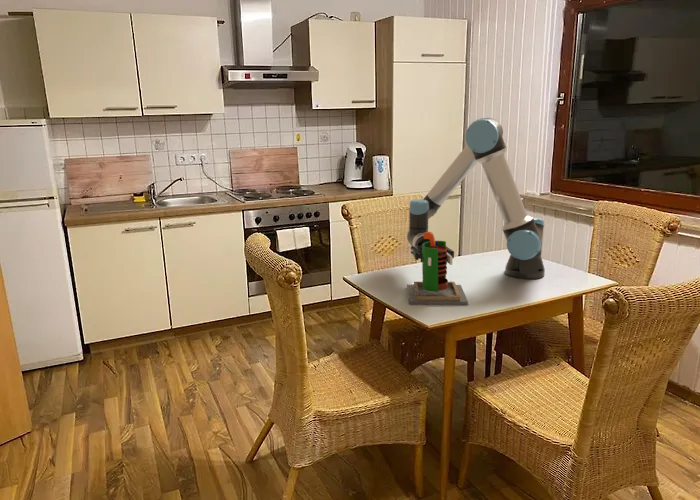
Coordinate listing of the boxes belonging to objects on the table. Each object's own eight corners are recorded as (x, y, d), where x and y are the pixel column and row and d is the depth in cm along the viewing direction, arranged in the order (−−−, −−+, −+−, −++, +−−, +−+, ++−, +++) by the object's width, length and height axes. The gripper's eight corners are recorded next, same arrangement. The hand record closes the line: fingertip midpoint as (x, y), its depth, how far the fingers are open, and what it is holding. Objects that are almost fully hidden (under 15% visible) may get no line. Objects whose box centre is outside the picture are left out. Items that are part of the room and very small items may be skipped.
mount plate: (460, 287, 198) (460, 280, 197) (467, 305, 180) (468, 297, 180) (407, 287, 199) (407, 280, 198) (409, 304, 182) (409, 297, 181)
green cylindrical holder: (447, 291, 183) (446, 236, 177) (421, 291, 185) (419, 236, 179) (448, 281, 193) (447, 228, 187) (423, 281, 195) (422, 229, 189)
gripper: (448, 253, 205) (468, 270, 183) (399, 255, 203) (412, 273, 181) (449, 234, 203) (469, 249, 181) (399, 236, 201) (412, 252, 179)
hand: (440, 261), depth 181 cm, fingers closed on green cylindrical holder, 7 cm apart
